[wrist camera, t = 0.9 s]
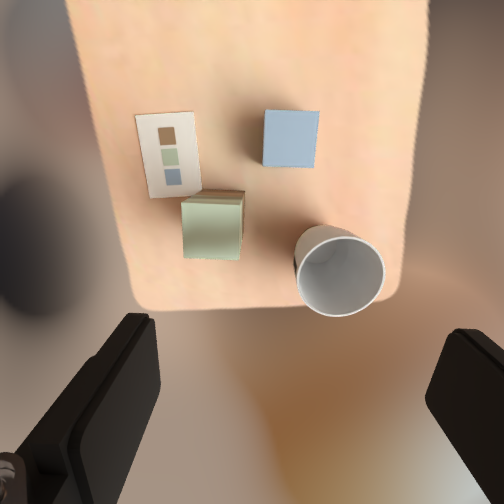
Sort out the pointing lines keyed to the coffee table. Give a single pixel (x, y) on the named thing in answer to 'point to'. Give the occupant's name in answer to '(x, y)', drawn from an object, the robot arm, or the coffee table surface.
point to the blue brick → (289, 138)
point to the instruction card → (170, 154)
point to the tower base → (213, 224)
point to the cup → (337, 271)
